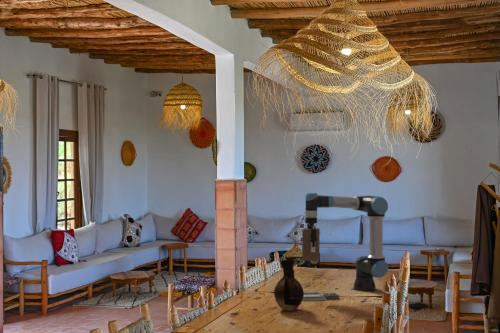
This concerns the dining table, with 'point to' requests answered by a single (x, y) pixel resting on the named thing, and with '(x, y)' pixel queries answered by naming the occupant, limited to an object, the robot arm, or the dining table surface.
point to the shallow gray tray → (313, 296)
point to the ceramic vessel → (288, 288)
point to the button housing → (331, 296)
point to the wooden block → (306, 245)
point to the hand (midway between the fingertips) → (310, 250)
